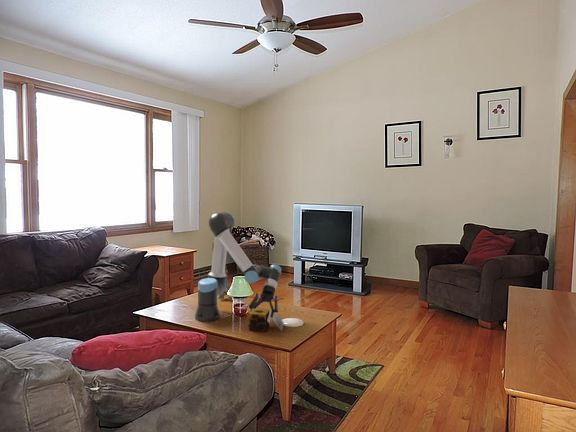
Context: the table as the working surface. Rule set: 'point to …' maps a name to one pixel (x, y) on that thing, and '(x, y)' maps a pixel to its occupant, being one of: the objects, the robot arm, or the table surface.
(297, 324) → the coaster
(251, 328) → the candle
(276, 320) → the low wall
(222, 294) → the eiffel tower
